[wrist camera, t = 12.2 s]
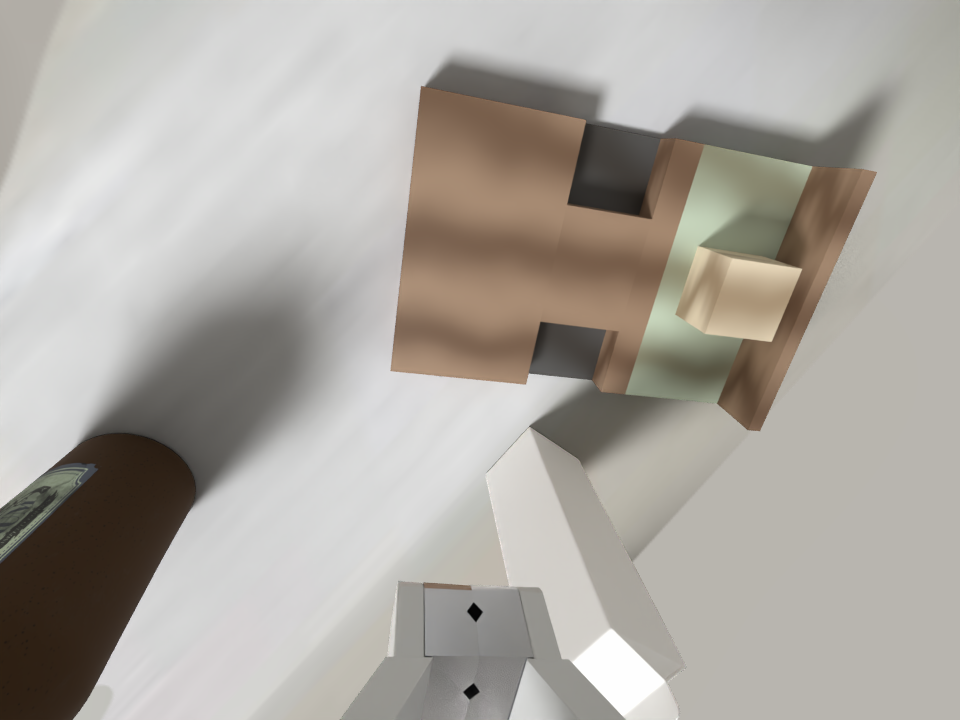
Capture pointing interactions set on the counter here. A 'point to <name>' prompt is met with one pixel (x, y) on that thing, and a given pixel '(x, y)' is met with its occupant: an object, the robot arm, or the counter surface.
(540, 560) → the milk
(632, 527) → the counter surface
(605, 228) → the board
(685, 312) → the block
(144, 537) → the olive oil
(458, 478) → the counter surface
